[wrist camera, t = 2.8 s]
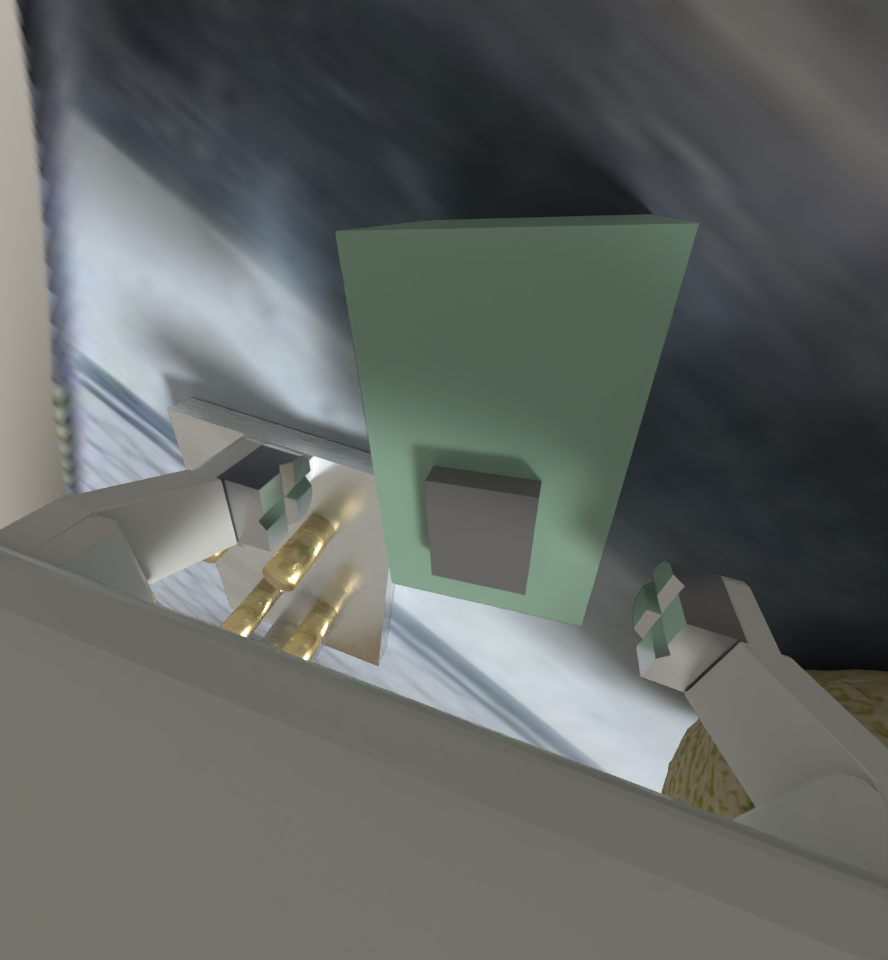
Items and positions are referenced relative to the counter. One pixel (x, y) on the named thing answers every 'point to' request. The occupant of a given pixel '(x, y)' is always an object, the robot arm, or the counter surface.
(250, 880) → the robot arm
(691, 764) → the cantaloupe
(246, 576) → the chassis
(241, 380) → the counter surface
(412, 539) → the green box
